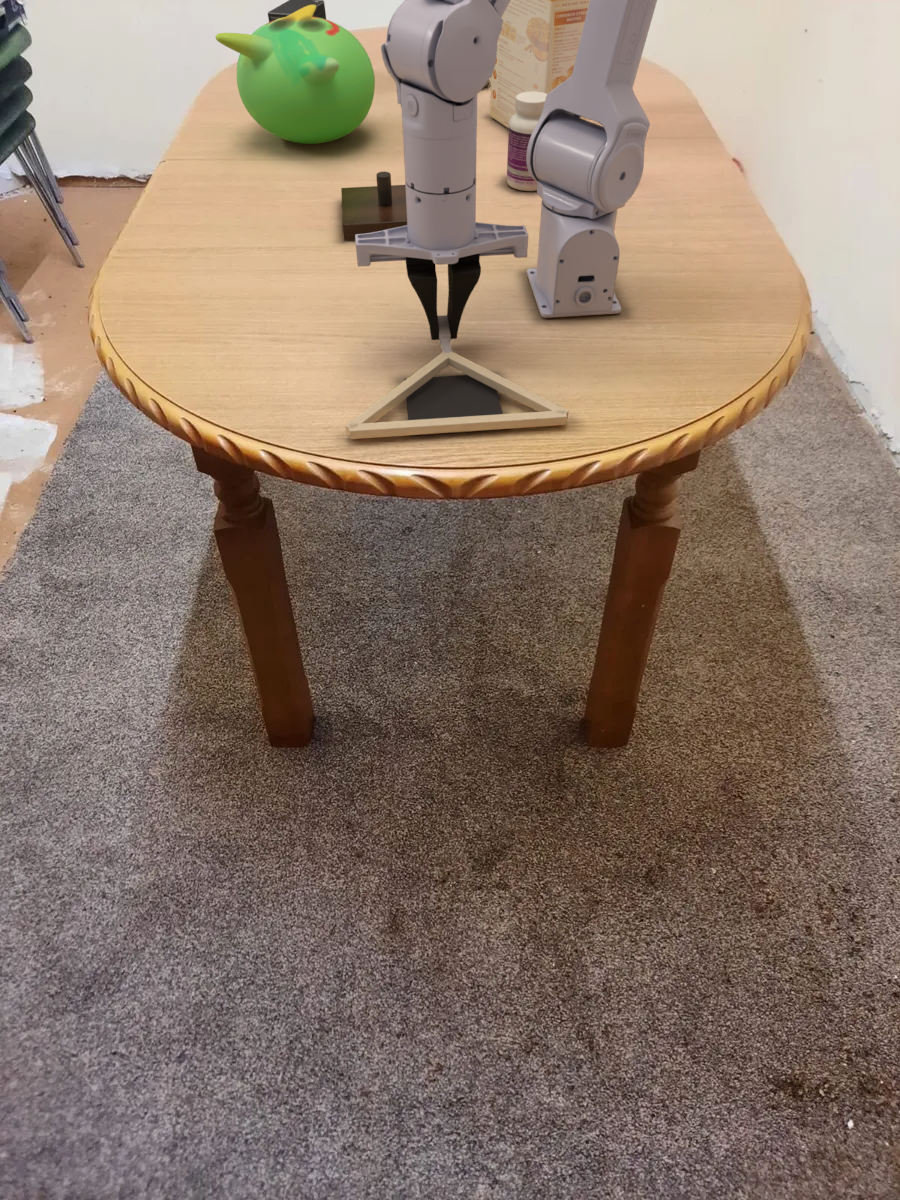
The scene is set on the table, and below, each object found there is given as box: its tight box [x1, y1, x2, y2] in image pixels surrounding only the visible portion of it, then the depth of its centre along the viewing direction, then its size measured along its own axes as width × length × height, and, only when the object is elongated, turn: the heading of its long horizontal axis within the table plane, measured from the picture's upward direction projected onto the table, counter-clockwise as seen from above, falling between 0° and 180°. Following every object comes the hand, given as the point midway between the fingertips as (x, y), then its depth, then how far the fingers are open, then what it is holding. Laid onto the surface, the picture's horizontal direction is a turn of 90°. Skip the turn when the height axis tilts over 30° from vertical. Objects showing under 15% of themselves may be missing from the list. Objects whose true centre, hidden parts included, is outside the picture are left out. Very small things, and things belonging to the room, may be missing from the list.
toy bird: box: [215, 5, 376, 145], centre depth 107 cm, size 18×17×15 cm
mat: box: [404, 374, 504, 436], centre depth 71 cm, size 8×8×1 cm
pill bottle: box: [506, 92, 547, 192], centre depth 99 cm, size 5×5×10 cm
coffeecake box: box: [489, 0, 590, 129], centre depth 107 cm, size 15×7×20 cm, turn 25°
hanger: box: [344, 314, 570, 440], centre depth 72 cm, size 19×15×1 cm
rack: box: [340, 171, 407, 242], centre depth 94 cm, size 10×10×5 cm
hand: (443, 333), depth 76 cm, fingers closed on hanger, 1 cm apart
